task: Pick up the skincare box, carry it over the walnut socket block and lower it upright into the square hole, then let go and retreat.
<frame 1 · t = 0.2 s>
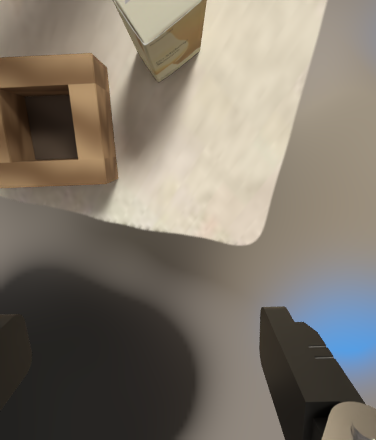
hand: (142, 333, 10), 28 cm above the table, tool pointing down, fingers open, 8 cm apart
socket block: (60, 127, 35), on the table
skincare box: (169, 50, 33), on the table
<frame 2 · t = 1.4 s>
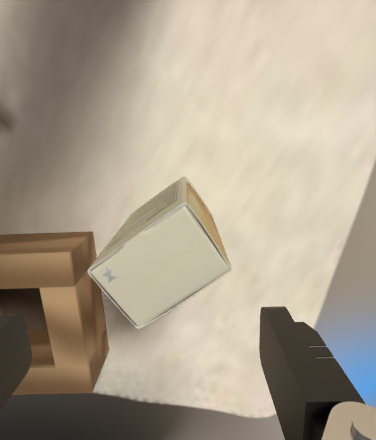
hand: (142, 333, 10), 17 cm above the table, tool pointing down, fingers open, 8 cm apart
socket block: (36, 296, 28), on the table
skincare box: (172, 212, 26), on the table
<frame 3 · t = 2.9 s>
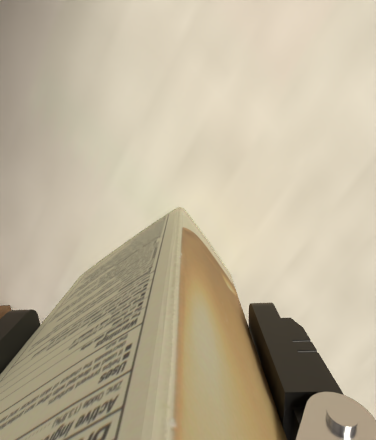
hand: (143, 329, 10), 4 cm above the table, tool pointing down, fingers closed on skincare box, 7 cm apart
skincare box: (158, 271, 14), on the table, touching gripper
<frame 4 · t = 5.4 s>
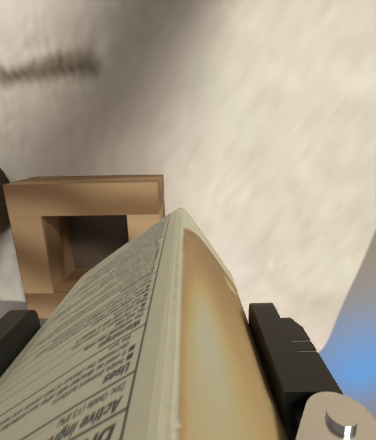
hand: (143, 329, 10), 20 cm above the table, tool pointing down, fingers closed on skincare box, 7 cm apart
socket block: (105, 236, 31), on the table
skincare box: (159, 271, 14), point 16 cm above the table, touching gripper
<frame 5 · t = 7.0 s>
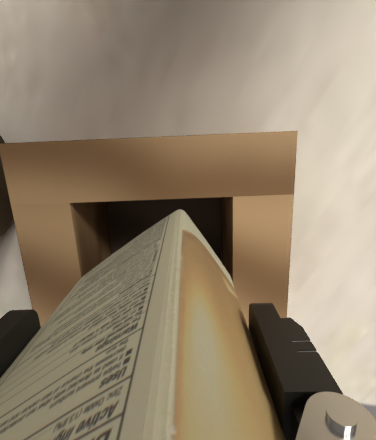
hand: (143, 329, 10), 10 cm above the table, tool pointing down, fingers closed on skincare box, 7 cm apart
socket block: (165, 239, 19), on the table
skincare box: (158, 272, 14), point 5 cm above the table, touching gripper
when the fingers open (6 cm above the table, at t = 8.3 s): skincare box drops 2 cm, resting on socket block.
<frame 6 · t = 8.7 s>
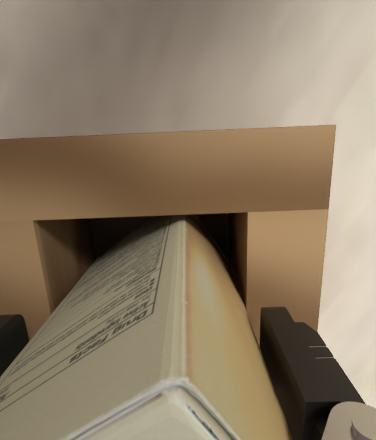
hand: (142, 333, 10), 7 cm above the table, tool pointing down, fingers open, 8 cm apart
socket block: (161, 257, 16), on the table
skincare box: (164, 255, 16), resting on socket block
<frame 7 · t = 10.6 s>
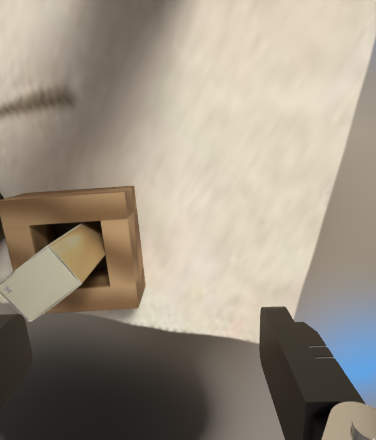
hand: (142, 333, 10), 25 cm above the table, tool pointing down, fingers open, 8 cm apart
socket block: (88, 241, 35), on the table
skincare box: (89, 240, 35), resting on socket block
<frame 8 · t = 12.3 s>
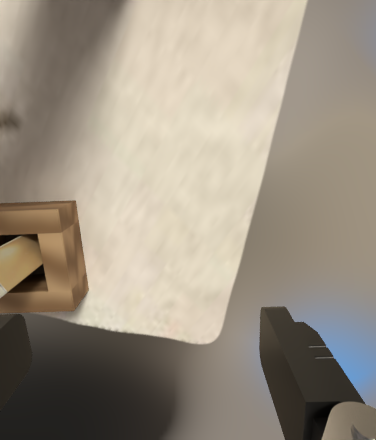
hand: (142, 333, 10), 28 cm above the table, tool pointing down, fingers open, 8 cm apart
socket block: (35, 248, 39), on the table
skincare box: (36, 247, 39), resting on socket block
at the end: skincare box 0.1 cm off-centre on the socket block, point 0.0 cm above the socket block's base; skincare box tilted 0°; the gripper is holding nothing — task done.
